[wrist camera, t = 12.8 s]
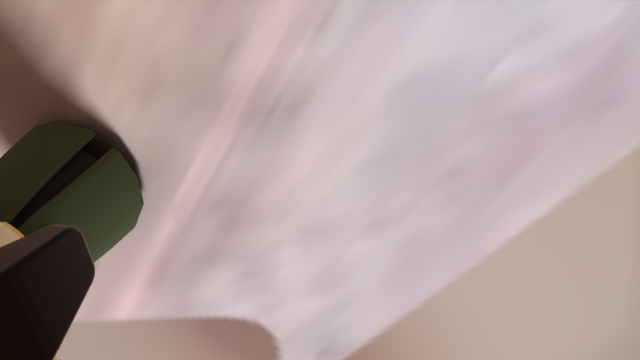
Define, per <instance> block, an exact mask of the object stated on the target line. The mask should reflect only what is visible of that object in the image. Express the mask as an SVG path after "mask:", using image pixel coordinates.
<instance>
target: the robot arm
mask: <svg viewBox="0 0 640 360" xmlns="http://www.w3.org/2000/svg"><path fill="white" fill-rule="evenodd" d="M94 275H95V266H94V263H93V260H92V258H91V255H90V252H89V249H88V247H87V244H86V241H85V239H84V236H83V234H82V232H81V231H80V230H79V229H78V228H76V227H74V226H66V225H58V224H54V225H50V226H47V227H45V228H43V229H40V230H38V231H36V232H34V233H31V234H29V235H27V236H25V237H22V238H20V239H18V240H16V241H13V242H11V243H9V244H7V245H4V246H2V247H0V360H53V359H54V357H55V355H56V353H57V351H58V350H59V348H60V345H61V344H62V342H63V339H64V337H65V336H66V333H67V332H68V330H69V328H70V326H71V324H72V322H73V320H74V318H75V316H76V314H77V312H78V310H79V308H80V306H81V304H82V302H83V300H84V298H85V296H86V294H87V292H88V290H89V288H90V286H91V284H92V282H93V279H94Z"/></svg>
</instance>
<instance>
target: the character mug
mask: <svg viewBox="0 0 640 360" xmlns="http://www.w3.org/2000/svg"><path fill="white" fill-rule="evenodd" d="M94 136H95V134H94V133H93V132H92V131H91V130H89V129H86V128H83V127H79V126H76V125H73V124H69V123H66V122H62V121H61V122H55V123H48V124H42V125H37V126H35V127H34V128H33V129H32V130H31V131H30V132H29V133H27V134H26V135H25V136H24V137H23V138H22V139H21V140H19V141H18V142H17V143H16V144H15V145H14V146H13V147H11V148H10V149H9V150H8V151H7V152H6V153H5V154H4V155H3V156H2V157H1V158H0V247H2V246H4V245H7V244H9V243H11V242H13V241H16V240H18V239H20V238H22V237H25V236H27V235H29V234H31V233H34V232H36V231H38V230H40V229H43V228H45V227H47V226H50V225H54V224H58V225H66V226H74V227H76V228H78V229H79V230H80V231H81V232H82V234H83V236H84V239H85V241H86V244H87V247H88V249H89V252H90V255H91V258H92V260H93V263H94V262H95V261H96V260H98V259H99V258H100V257H101V256H103V255H104V254H105V253H106V252H108V251H109V250H110V249H111V248H112V247H113V246H115V245H116V244H117V243H118V242H119V241H120V240H121V239H122V238H123V237H125V236H126V235H127V234H128V233H129V232H130V231H131V230H132V229H133V228H134V227H135V226H136V223H137V220H138V217H139V215H140V212H141V209H142V207H143V204H144V203H143V198H142V194H141V190H140V186H139V182H138V178H137V176H136V174H135V173H134V171H133V170H132V169H131V167H130V166H129V164H128V163H127V161H126V160H125V158H124V157H123V156H122V154H121V153H120V152H119V151H118V150H116V149H115V148H112V149H111V150H109V151H108V152H107V153H106V154H105V155H103V156H102V157H101V158H100V159H99V160H98V161H96V160H95V159H94V158H93V157H92V156H91V155H89V154H87V153H85V152H82V151H80V149H81V148H82V147H83V146H84V145H85V144H87V143H88V142H89V141H90V140H91V139H92V138H93V137H94ZM53 360H60V359H59V358H57V357H56V356H55V357H54V359H53Z"/></svg>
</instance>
